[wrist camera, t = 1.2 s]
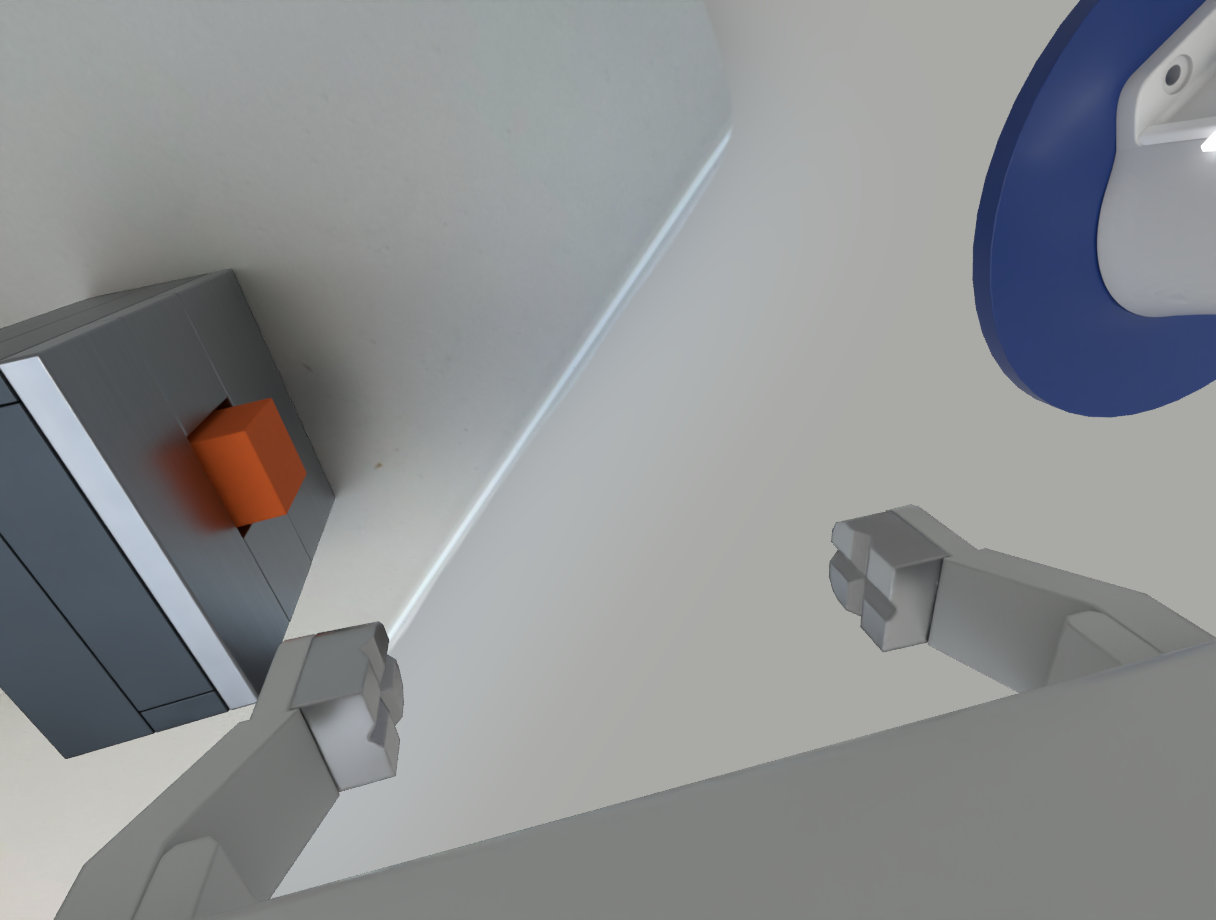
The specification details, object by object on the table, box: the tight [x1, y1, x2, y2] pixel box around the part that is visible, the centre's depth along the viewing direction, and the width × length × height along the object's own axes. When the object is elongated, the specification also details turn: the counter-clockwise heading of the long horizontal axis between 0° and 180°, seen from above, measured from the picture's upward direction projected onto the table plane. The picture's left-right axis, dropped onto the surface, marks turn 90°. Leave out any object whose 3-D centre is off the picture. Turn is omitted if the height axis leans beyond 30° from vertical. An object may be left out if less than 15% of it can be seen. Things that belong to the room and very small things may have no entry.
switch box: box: [0, 269, 335, 759], centre depth 23 cm, size 6×12×14 cm, turn 10°
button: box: [187, 398, 307, 527], centre depth 22 cm, size 3×3×3 cm
